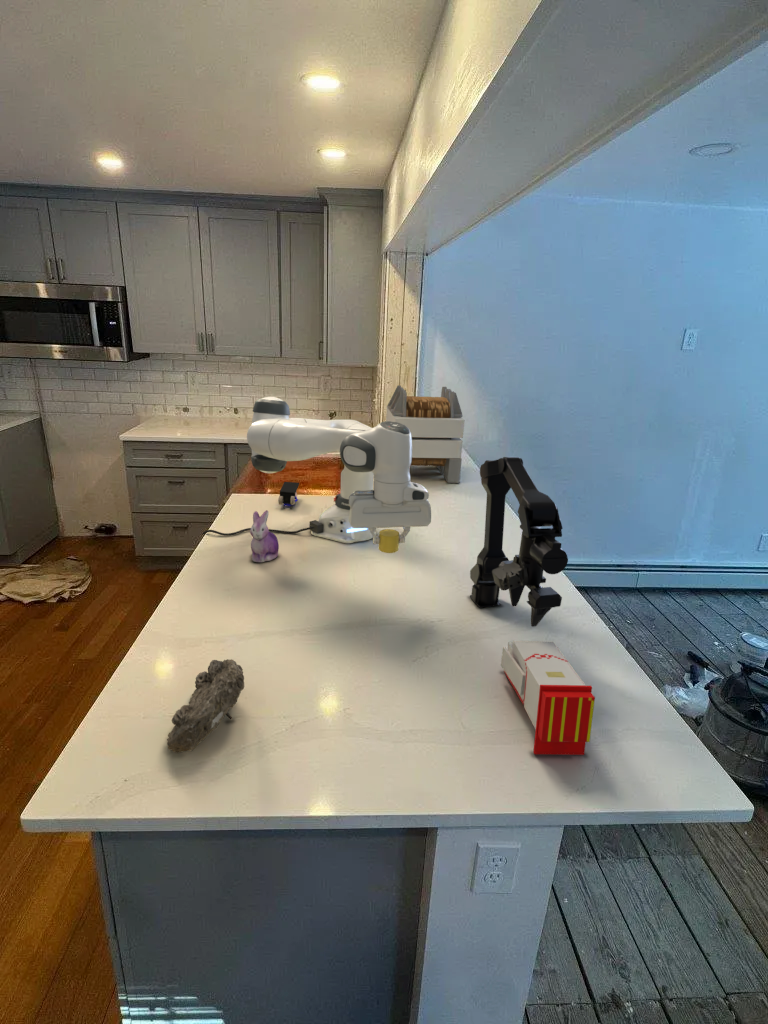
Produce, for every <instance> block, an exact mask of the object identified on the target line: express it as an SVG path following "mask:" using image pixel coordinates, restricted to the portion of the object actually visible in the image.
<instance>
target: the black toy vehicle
mask: <svg viewBox="0 0 768 1024" xmlns="http://www.w3.org/2000/svg"><path fill="white" fill-rule="evenodd" d="M299 486H300V482H296V481H295V482H294V481H293V482H292V481H284V482H283V484H282V486H281V488H280V490H279V496H278V505H279V506H282V509H285V508H286V507H289V509H290V510H291V509H292V508H293V506H294V505H296V502H298V501H299V500H298V492H297V490H298V489H299Z"/></svg>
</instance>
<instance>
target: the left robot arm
mask: <svg viewBox="0 0 768 1024" xmlns="http://www.w3.org/2000/svg"><path fill="white" fill-rule="evenodd" d="M252 412H253V413H252V419H251V425H250V426H249V427H248V429H247V432H246V441H247V445H248V446H249V448H250V449H251V455H250V459H251V460H250V461H251V465H252V467H253V468H254V469H255V470H257V471H260V472H261V473H264V474H276V473H278V472H279V473H280V472H282V471H283V470H284V469H286V466H287V463H288V462H299V461H306V460H310V459H313V458H317V457H320V456H325V455H327V454H331V453H332V454H333V453H339V457H340V460H341V462H342V464H343V465H344V467H343V469H342V471H341V472H340V490H339V491H338V492H337V494H336V495H335V496H334V497H333V502H334V504H333V505H331V506H329V507H328V508H326V509H325V510H323V512H321V514H320V515H319V517H318V520H316V519H314V520H310V521H309V527H305V528H301V529H298V530H294V531H292V530H291V531H288V530H279V529H271V528H268V529H269V532H272V533H280V534H287V535H288V534H289V535H294V534H299V533H301V532H304V531H310V533H311V536H315V537H319V538H323V539H326V540H330V541H336V542H339V543H343V544H352V543H357V542H365V541H368V540H372V543H373V545H379V544H380V537H379V534H377V529H383V528H384V529H390V528H403V530H402V532H401V533H399V544H405V543H406V537H407V536H408V534H409V533H410V531H411V528H415V527H416V528H418V527H429V526H430V524H431V523H432V506H431V503H430V501H429V500H428V499H429V498H430V497H429V496H430V495H429V494H430V493H429V492H428V489H426V487H425V486H423V485H422V484H420V483H417V482H414V481H411V479H412V478H411V473H410V468H411V466H410V465H411V462H412V437H411V433H410V430H409V429H408V428H407V427H406V426H405V425H403V424H401V423H397V422H391V421H386V420H385V421H381V422H380V423H378V424H377V425H375V426H374V427H371V426H369V425H367V424H364V423H363V422H360V421H358V420H357V419H319V418H304V417H290V415H291V409H290V406H289V404H288V403H287V402H286V401H285V400H283V399H282V398H279V397H276V396H265V397H261V398H258V399H257V400H256V401H254V405H253V408H252ZM250 529H251V527H247V528H244V529H240V530H238V531H234V532H226V533H225V532H221V531H218V530H213V529H207V530H205V531H203V532H202V533H201V535H206V534H207V533H213V534H217V535H220V536H223V537H225V536H227V537H229V536H235V535H238V534H241V533H244V532H247V531H250Z"/></svg>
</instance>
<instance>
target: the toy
mask: <svg viewBox="0 0 768 1024" xmlns="http://www.w3.org/2000/svg"><path fill="white" fill-rule="evenodd" d="M500 666H501V668H502V669H503V672H504V674H505V676H506V678H507V679H508V681H509V683H510V685H511V686H512V688H513V690H514V691H515V693H516V695H517V697H518V698H519V701H520V702H521V703H522V705H523V707H524V710H525V712H526V714H527V716H528V718H529V720H530V722H531V724H532V725H533V728H534V730H535V731H534V743H533V755H566V756H567V755H569V756H570V755H571V756H572V755H573V756H584V755H585V752H586V751H585V750H586V743H590V741H591V734H592V732H591V731H592V725H593V716H594V710H595V709H594V708H595V699H596V697H595V696H594V694H593V693H592V692H593V687H592V685H587V684H585V681H583V679H581V677H580V676H579V674H578V673H577V672H576V670H575V669H574V667H573V666H572V664H570V662H569V660H568V659H567V658H566V656H564V654H563V653H562V651H561V650H560V648H559V646H557V645H556V643H555V642H554V641H545V640H544V641H543V640H542V641H540V640H537V641H536V640H512V641H509V642H507V647H506V646H503V647H502V653H501V660H500Z"/></svg>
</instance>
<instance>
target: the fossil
mask: <svg viewBox="0 0 768 1024" xmlns="http://www.w3.org/2000/svg"><path fill="white" fill-rule="evenodd" d="M243 670H244V669H243V667H242V665H240V664H237V662H236V661H235V660H234V659H232V658H231V659H227V658H226V659H224V660H223V661H222V660H217V659H212V660H211V661H210V663H209V665H208V666H207V671H201V672H199V673H198V674H197V675H196V676H195V680H194V684H195V685H194V687H195V689H194V690H193V693H192V694H191V697H190V698H189V700H188V704H184V705H182V706H181V707H180V709H177V710H176V711H175V713H174V715H173V716H172V718H171V723H172V724H173V727H172V730H171V731H170V732H168V734H167V738H166V741H167V742H166V745H167V749H168V750H169V751H173V752H174V753H176V754H178V753H182V752H188V751H189V752H192V751H193V750H195V748H196V747H197V746H199V744H200V743H201V742H203V741H204V740H205V739H206V738H207V737H208V736H209V735H210V734H211V733H212V732H214V730H215V729H217V727H218V726H219V724H220V722H221V721H222V720H223V719H224V718H225V716H226V717H227V719H229V720H233V717H232V715H230V714H229V710H230V709H231V708H234V706H235V704H236V703H237V702H238V699H239V697H240V695H241V693H242V691H243V690H245V689H244V688H245V675H244V671H243Z"/></svg>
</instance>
